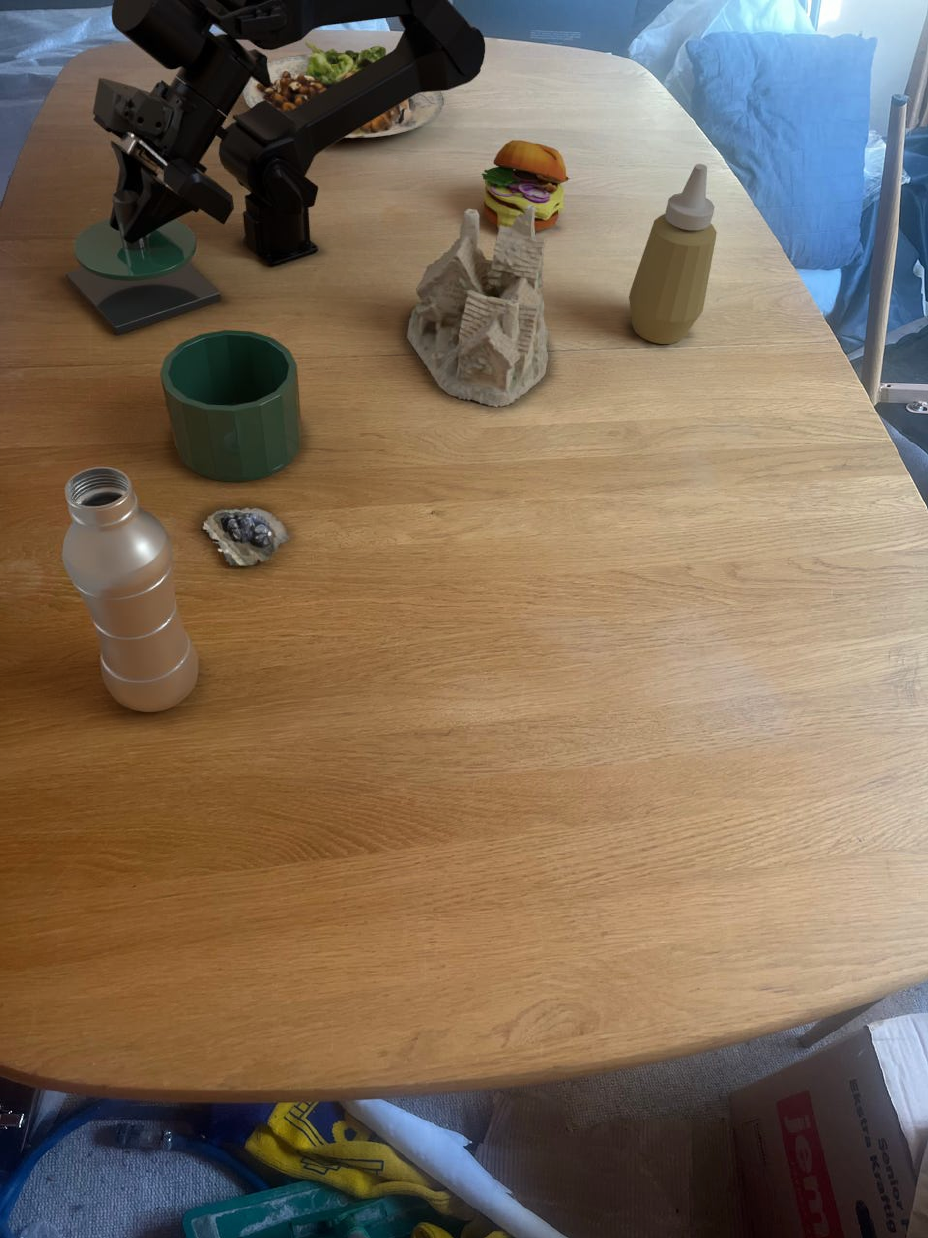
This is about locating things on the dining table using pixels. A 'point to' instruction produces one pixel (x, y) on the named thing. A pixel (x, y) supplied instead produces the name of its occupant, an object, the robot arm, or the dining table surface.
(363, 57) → the plate of food
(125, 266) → the pot lid
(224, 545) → the grey lumpy flat piece
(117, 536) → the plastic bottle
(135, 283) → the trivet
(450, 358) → the ceramic cottage
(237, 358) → the pot
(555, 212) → the cheeseburger
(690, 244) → the squeeze bottle
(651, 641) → the dining table surface
